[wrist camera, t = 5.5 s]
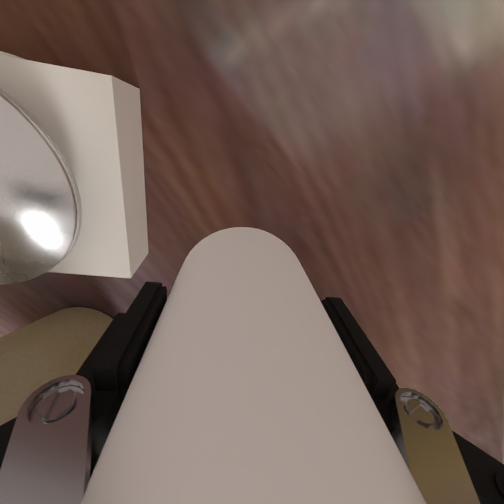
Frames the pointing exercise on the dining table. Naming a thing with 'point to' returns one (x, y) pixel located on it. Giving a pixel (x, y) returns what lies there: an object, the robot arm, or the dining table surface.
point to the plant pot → (45, 353)
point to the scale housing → (91, 157)
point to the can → (247, 395)
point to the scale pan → (33, 197)
